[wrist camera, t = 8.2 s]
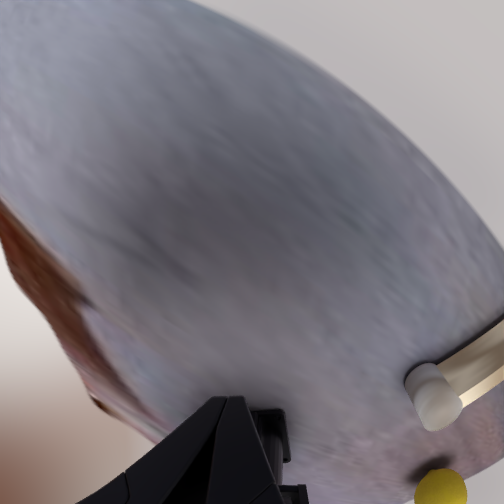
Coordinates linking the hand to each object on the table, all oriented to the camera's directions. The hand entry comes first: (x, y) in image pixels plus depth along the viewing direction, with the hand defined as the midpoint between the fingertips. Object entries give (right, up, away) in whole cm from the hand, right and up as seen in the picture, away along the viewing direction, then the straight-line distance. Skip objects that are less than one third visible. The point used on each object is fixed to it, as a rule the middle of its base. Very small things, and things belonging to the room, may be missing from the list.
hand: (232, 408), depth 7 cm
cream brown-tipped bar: (+17, -4, +11) cm, 21 cm away
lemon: (+20, -19, +15) cm, 32 cm away
